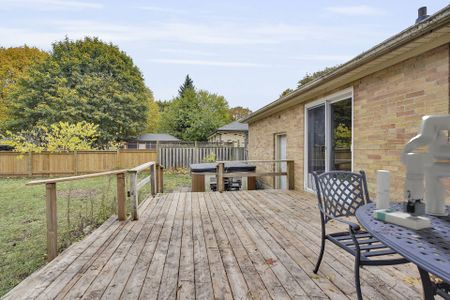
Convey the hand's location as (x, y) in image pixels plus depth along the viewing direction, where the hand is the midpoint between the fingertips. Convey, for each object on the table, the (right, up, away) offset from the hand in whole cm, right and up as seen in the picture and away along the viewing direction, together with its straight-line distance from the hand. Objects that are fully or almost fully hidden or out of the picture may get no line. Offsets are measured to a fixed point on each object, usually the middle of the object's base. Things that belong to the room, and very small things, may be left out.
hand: (414, 211), depth 128 cm
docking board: (-3, -7, +6) cm, 10 cm away
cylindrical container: (+4, -7, +32) cm, 33 cm away
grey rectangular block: (0, -6, 0) cm, 6 cm away
